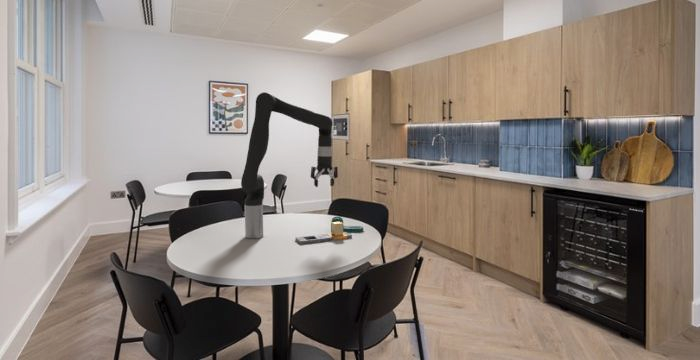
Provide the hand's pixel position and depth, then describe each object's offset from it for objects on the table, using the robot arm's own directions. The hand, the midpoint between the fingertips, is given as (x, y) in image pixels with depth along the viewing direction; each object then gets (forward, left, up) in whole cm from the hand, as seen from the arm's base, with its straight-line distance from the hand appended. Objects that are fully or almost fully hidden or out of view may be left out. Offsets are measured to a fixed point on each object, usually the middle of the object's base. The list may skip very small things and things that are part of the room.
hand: (324, 186), depth 205 cm
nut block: (+5, +5, -27) cm, 28 cm away
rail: (+5, -2, -27) cm, 27 cm away
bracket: (-6, +16, -27) cm, 32 cm away
